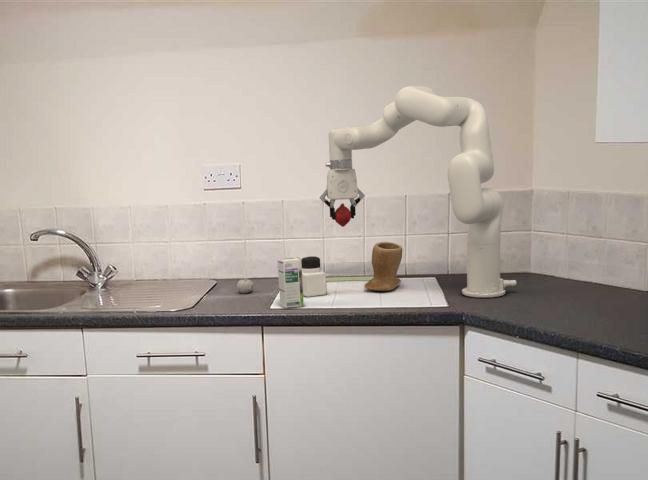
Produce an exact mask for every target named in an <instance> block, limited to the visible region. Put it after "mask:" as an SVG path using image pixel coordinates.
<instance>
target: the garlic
mask: <svg viewBox="0 0 648 480" xmlns="http://www.w3.org/2000/svg"><path fill="white" fill-rule="evenodd" d="M236 289H237V291H238V292H239V293H241V294H243V295H245V294H249V293H251V292H252V290H253V289H254V282H253V281H252V280H250V279H249V278H247V277H243V279H240V280H239V281H238V282H237V283H236Z"/></svg>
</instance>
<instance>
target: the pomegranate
mask: <svg viewBox="0 0 648 480" xmlns="http://www.w3.org/2000/svg"><path fill="white" fill-rule="evenodd" d="M351 219H352V218H351V212H350V208H348V207H347V206H345V204H344V203H343V202H342V203H340V206H338V207H337V208H336V209H335V220H334V221H335V223H336V224H338V225H339V226H340V227H342V228H344V227H346V225H348V224H349V222H350V221H351Z"/></svg>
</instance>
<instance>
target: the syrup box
mask: <svg viewBox="0 0 648 480" xmlns="http://www.w3.org/2000/svg"><path fill="white" fill-rule="evenodd" d="M301 259H302V258H301V257H298V256H291V257H281V258H277V273H278V274H277V276H278V287H279V288H278V291H279V304H280V306H281V307H283V308H284V309H292V308H298V307H299V308H300V307H304V304H305V303H304V296H303V284H302V264H301Z"/></svg>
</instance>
